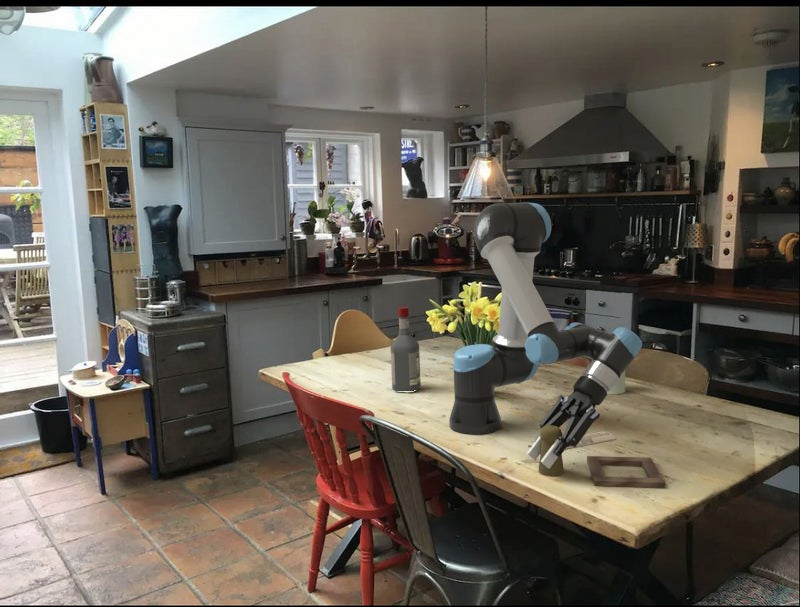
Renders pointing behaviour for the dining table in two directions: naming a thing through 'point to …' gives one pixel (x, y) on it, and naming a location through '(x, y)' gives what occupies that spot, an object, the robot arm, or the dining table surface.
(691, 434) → the dining table surface
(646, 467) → the cutout board
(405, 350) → the liquor
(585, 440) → the newspaper
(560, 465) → the olive pawn
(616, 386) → the can
